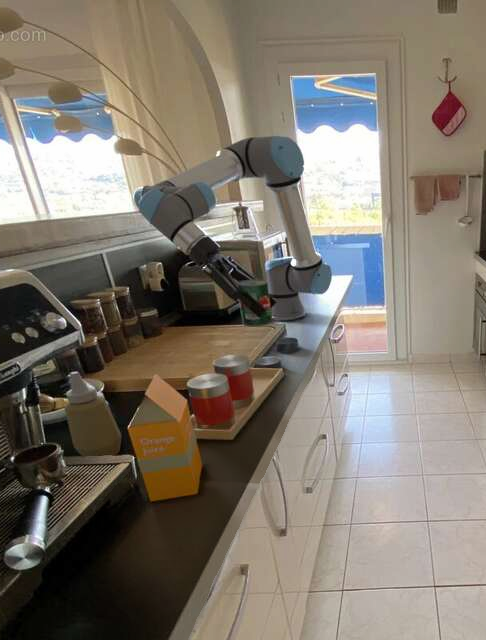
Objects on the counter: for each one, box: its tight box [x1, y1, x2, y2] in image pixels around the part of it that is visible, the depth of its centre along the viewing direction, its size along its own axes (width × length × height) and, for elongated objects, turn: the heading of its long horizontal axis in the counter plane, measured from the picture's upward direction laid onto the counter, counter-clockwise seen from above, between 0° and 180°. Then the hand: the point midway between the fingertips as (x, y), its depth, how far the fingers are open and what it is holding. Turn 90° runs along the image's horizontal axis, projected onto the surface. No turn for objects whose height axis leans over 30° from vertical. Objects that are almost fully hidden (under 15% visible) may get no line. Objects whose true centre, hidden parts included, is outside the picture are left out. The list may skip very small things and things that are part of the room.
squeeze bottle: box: [64, 371, 122, 457], centre depth 86 cm, size 8×8×18 cm
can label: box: [212, 354, 255, 409], centre depth 108 cm, size 8×8×11 cm
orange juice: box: [127, 373, 203, 502], centre depth 77 cm, size 8×9×20 cm
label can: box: [186, 373, 236, 430], centre depth 97 cm, size 8×8×11 cm
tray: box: [190, 367, 285, 441], centre depth 110 cm, size 35×12×2 cm, turn 176°
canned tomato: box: [236, 278, 274, 328], centre depth 119 cm, size 8×8×11 cm
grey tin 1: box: [255, 355, 283, 369], centre depth 130 cm, size 7×7×3 cm
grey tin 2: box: [275, 336, 300, 354], centre depth 146 cm, size 7×7×3 cm
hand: (268, 309), depth 120 cm, fingers closed on canned tomato, 8 cm apart
